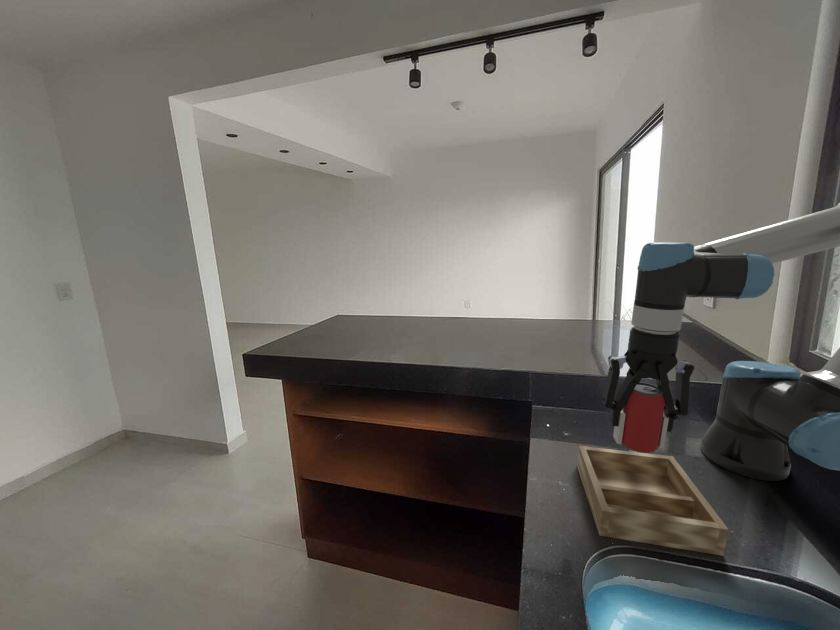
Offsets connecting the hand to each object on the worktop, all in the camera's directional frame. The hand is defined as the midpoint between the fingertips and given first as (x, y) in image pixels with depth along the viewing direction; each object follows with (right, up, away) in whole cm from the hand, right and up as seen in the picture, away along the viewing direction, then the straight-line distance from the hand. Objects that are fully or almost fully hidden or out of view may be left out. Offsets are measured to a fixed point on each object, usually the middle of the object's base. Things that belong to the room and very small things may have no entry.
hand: (637, 442), depth 69 cm
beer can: (0, -1, 0) cm, 1 cm away
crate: (-1, -11, -1) cm, 11 cm away
